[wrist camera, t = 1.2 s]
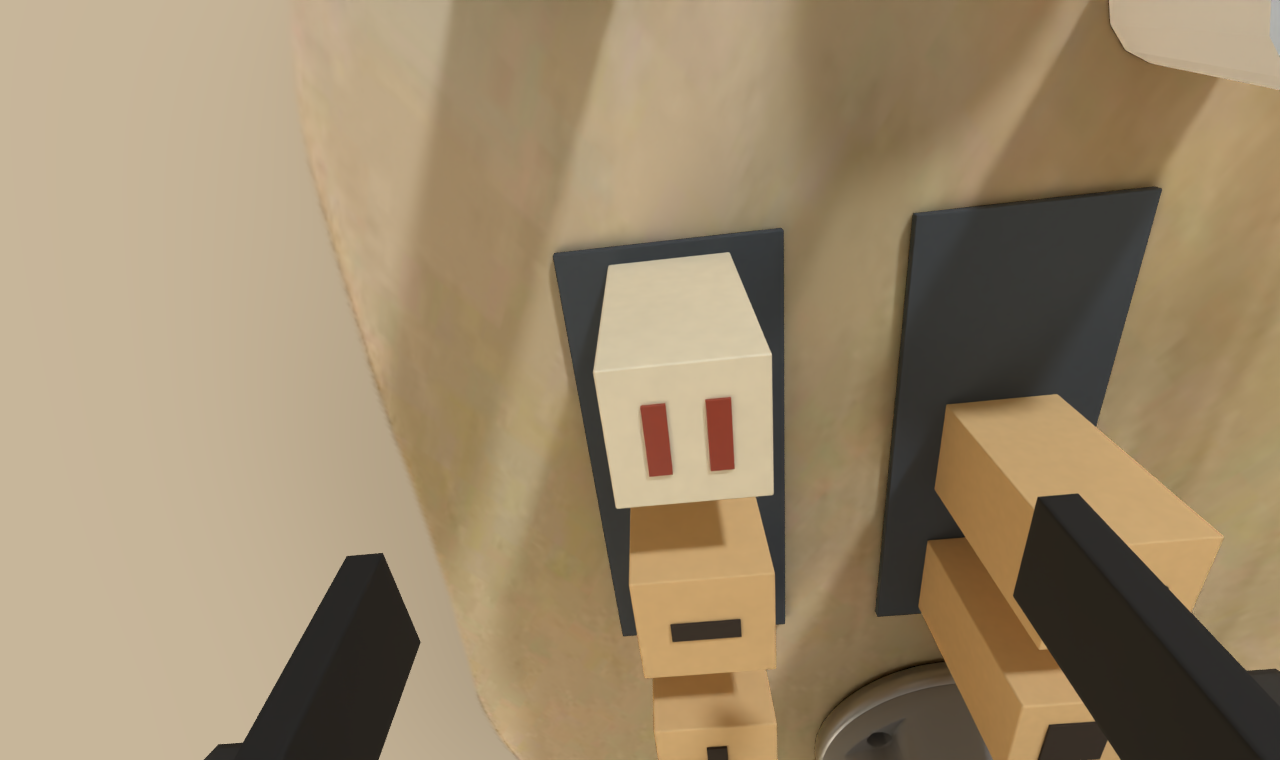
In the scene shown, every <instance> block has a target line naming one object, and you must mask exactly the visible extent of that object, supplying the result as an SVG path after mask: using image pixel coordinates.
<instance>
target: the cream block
mask: <svg viewBox="0 0 1280 760" xmlns="http://www.w3.org/2000/svg"><path fill="white" fill-rule="evenodd" d="M593 375H594V381H595V387H596V393H597V399H598V405H599V411H600V417H601V423H602V429H603V435H604V441H605V446H606V452H607V458H608V464H609V470H610V476H611V482H612V488H613V494H614V500H615V506H616V508H617V509H621V508H633V507H644V506H655V505H667V504H678V503H689V502H701V501H712V500H723V499H735V498H746V497H758V496H769V495H773V494H774V470H773V397H772V354H771V351H770V349H769V346H768V344H767V342H766V339H765V337H764V334H763V332H762V330H761V327H760V325H759V322H758V320H757V317H756V315H755V313H754V310H753V308H752V305H751V303H750V301H749V298H748V296H747V293H746V291H745V289H744V286H743V284H742V281H741V279H740V277H739V274H738V272H737V269H736V267H735V264H734V262H733V260H732V257H731V255H730V253H729V252H725V253H716V254H707V255H698V256H689V257H680V258H671V259H661V260H652V261H643V262H634V263H625V264H616V265H609V266H608V270H607V277H606V284H605V291H604V299H603V306H602V313H601V320H600V327H599V334H598V341H597V348H596V355H595V362H594V369H593Z"/></svg>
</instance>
